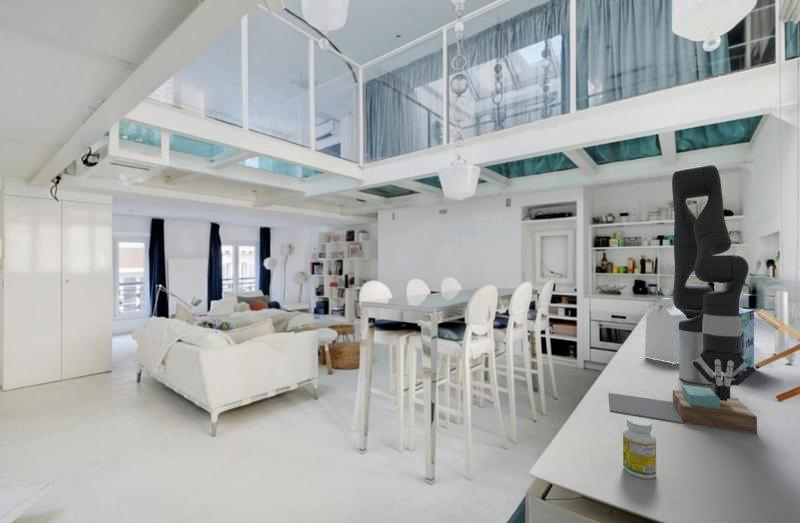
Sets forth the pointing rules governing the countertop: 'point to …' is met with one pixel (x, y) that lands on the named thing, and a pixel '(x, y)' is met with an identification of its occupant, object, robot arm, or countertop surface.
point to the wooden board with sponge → (717, 414)
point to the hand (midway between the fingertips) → (722, 399)
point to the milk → (663, 331)
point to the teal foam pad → (700, 396)
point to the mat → (644, 407)
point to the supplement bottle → (639, 448)
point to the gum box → (746, 337)
